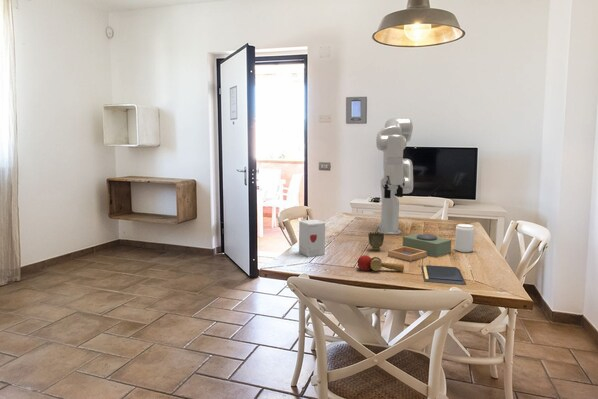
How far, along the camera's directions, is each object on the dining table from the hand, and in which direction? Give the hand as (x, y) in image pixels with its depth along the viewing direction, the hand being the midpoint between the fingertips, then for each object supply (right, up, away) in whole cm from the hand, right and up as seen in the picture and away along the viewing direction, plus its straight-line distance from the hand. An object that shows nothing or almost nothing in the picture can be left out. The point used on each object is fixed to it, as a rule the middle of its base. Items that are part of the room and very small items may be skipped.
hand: (393, 197), depth 197 cm
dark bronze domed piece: (-9, -25, -1) cm, 27 cm away
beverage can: (+32, -25, -2) cm, 41 cm away
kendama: (-12, -30, -32) cm, 45 cm away
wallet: (+10, -31, -37) cm, 50 cm away
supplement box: (-39, -26, -7) cm, 47 cm away
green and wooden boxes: (+9, -26, -8) cm, 28 cm away
